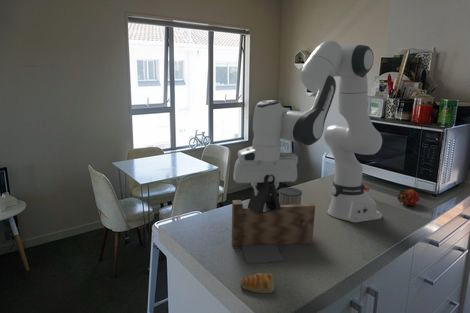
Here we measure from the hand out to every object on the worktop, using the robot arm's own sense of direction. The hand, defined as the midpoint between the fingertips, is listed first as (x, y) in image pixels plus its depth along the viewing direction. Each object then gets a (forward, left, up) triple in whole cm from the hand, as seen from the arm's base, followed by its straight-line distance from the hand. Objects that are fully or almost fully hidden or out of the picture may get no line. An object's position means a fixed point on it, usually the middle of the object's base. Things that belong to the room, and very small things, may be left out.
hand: (264, 195), depth 109 cm
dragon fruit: (-80, -38, -21) cm, 91 cm away
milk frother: (-12, -19, -21) cm, 30 cm away
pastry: (+5, +18, -21) cm, 28 cm away
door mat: (0, 0, -21) cm, 21 cm away
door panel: (-5, -6, -21) cm, 22 cm away
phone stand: (0, 0, -5) cm, 5 cm away
